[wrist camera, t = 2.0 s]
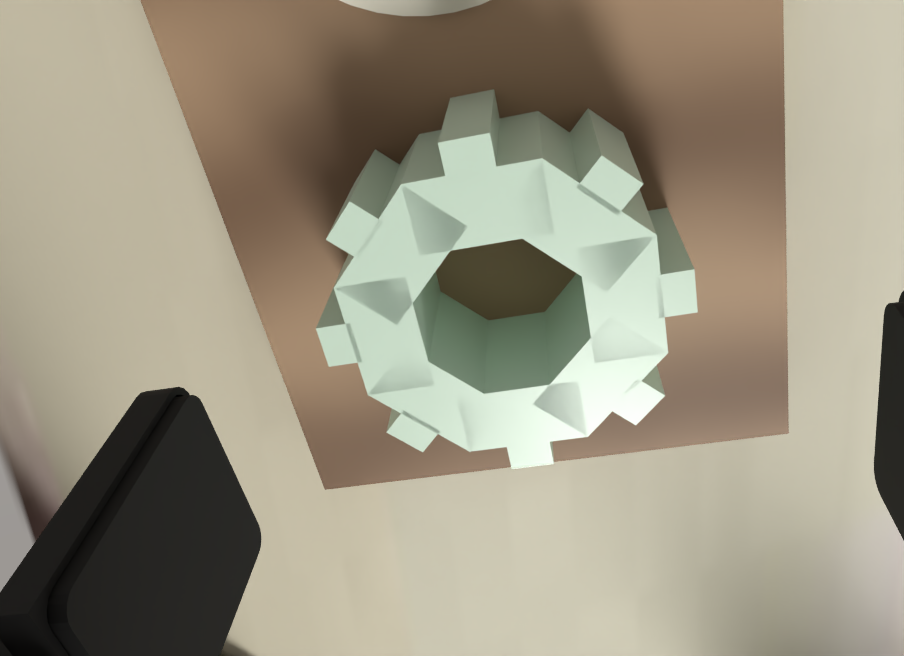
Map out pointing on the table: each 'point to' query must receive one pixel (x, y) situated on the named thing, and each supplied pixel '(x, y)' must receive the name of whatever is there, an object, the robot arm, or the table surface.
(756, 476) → the table surface
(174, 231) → the table surface
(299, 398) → the gear board
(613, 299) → the green gear
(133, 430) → the robot arm
